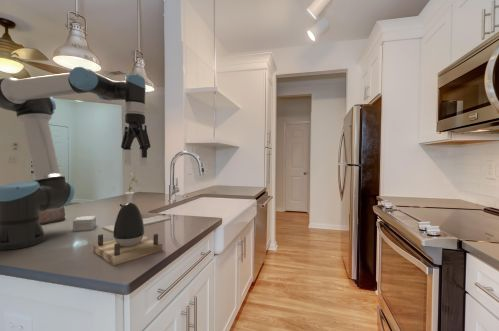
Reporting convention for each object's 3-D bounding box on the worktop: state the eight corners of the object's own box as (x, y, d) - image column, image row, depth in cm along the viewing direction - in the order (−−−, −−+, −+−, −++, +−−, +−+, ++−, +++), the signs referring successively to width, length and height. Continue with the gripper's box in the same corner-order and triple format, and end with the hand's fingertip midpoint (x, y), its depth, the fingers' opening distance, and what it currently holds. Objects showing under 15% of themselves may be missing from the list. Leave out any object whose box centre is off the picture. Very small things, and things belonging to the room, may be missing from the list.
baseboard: (100, 229, 118) (112, 234, 111) (100, 223, 117) (112, 227, 111) (157, 217, 143) (170, 220, 136) (157, 212, 143) (170, 215, 136)
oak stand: (93, 251, 89) (93, 235, 88) (139, 240, 102) (139, 225, 102) (113, 265, 78) (113, 246, 78) (162, 250, 91) (162, 234, 91)
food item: (35, 226, 117) (34, 206, 117) (26, 224, 121) (26, 204, 120) (66, 220, 129) (66, 201, 129) (58, 218, 133) (58, 200, 133)
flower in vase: (137, 219, 135) (138, 173, 134) (115, 219, 133) (115, 173, 132) (143, 213, 147) (143, 172, 147) (122, 214, 145) (123, 172, 145)
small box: (92, 230, 114) (92, 219, 114) (72, 231, 111) (72, 220, 111) (96, 225, 122) (96, 215, 121) (77, 227, 119) (77, 216, 118)
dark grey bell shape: (132, 237, 97) (133, 199, 96) (150, 242, 92) (150, 202, 91) (106, 245, 88) (106, 203, 88) (124, 251, 83) (124, 206, 82)
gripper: (160, 112, 97) (159, 166, 98) (130, 117, 113) (129, 164, 113) (141, 109, 91) (141, 166, 92) (112, 115, 107) (112, 164, 108)
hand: (134, 165), depth 103 cm, fingers open, 13 cm apart
